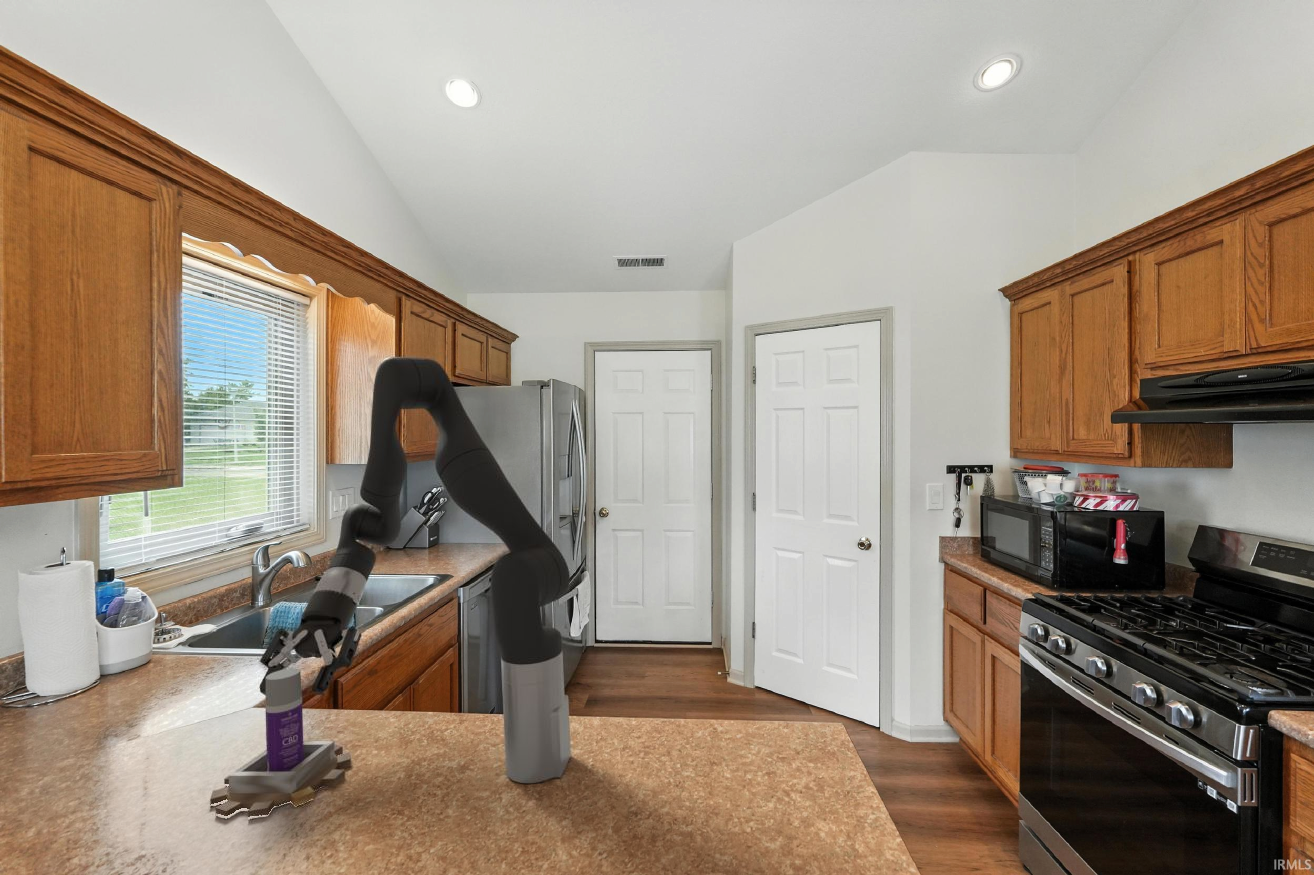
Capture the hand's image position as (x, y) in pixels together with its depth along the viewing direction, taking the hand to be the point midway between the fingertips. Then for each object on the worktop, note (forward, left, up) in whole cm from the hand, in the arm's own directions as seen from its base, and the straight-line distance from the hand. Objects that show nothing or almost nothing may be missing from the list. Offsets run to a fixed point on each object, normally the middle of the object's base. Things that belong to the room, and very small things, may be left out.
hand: (290, 693), depth 88 cm
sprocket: (0, +2, -13) cm, 13 cm away
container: (0, +2, -12) cm, 12 cm away
